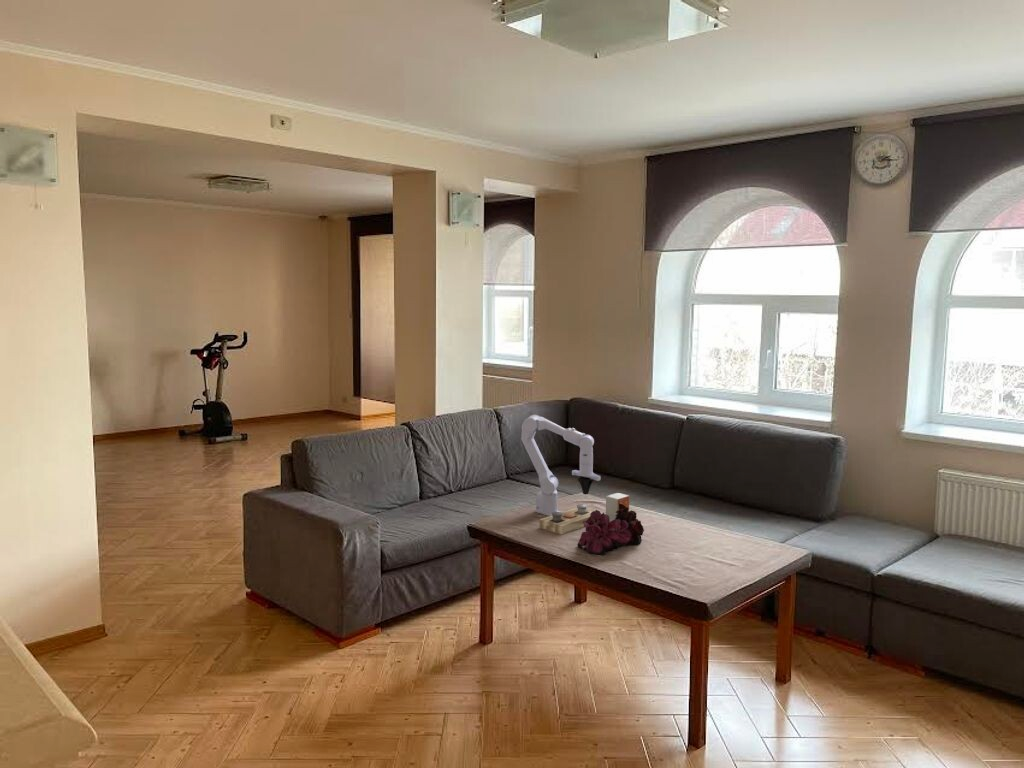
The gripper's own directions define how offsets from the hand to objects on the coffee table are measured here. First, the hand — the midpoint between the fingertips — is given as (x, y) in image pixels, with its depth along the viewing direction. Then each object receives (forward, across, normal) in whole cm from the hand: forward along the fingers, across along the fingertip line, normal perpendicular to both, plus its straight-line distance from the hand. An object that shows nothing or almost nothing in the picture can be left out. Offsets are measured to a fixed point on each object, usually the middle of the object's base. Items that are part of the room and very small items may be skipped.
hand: (585, 493), depth 322 cm
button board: (+10, -3, +14) cm, 17 cm away
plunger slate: (+7, -3, +6) cm, 10 cm away
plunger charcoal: (+7, -3, +22) cm, 23 cm away
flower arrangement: (+10, -30, +21) cm, 38 cm away
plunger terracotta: (+9, -3, +14) cm, 17 cm away
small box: (+10, -18, +1) cm, 21 cm away
